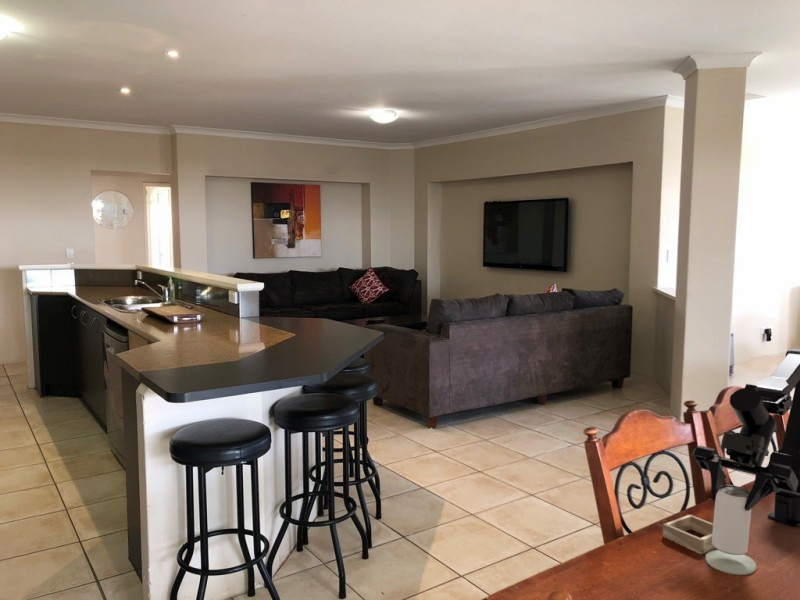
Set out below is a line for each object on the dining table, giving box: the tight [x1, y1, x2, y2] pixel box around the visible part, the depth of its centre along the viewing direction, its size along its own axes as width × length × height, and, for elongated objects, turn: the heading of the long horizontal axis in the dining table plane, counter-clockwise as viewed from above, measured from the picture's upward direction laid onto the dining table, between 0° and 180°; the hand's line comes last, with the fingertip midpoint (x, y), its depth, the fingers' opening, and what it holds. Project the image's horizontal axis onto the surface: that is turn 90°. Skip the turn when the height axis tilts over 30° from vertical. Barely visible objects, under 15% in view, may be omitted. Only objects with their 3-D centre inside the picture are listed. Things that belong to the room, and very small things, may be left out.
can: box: [712, 484, 753, 555], centre depth 129 cm, size 6×6×12 cm
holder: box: [662, 514, 716, 555], centre depth 140 cm, size 9×9×3 cm
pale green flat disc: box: [705, 549, 757, 576], centre depth 130 cm, size 9×9×1 cm
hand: (729, 504), depth 128 cm, fingers closed on can, 6 cm apart
